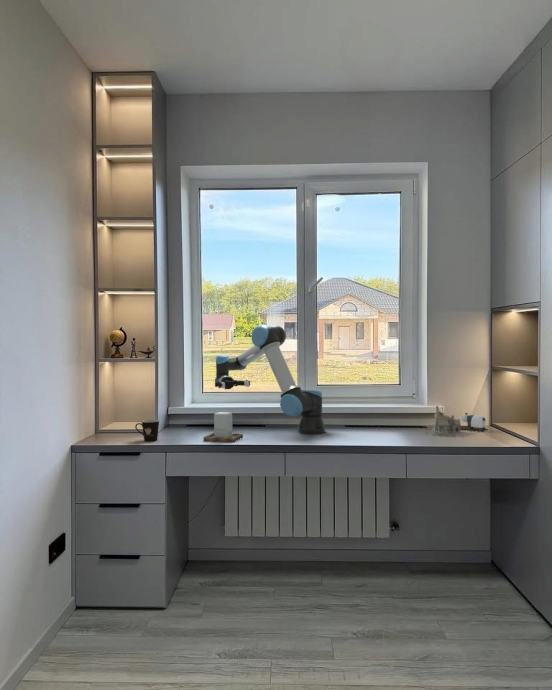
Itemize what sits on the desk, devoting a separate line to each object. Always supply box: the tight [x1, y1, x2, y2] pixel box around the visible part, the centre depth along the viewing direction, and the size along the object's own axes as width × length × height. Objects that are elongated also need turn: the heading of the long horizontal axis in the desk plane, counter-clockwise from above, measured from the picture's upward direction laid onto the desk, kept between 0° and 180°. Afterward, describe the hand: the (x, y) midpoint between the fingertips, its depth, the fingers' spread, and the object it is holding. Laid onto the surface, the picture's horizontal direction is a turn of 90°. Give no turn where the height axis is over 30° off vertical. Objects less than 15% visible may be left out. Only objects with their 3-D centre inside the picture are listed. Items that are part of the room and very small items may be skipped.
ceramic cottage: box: [430, 405, 462, 437], centre depth 284 cm, size 16×16×15 cm
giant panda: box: [458, 412, 487, 433], centre depth 294 cm, size 15×6×10 cm, turn 47°
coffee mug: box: [135, 419, 160, 443], centre depth 269 cm, size 12×9×10 cm
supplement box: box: [213, 411, 233, 438], centre depth 270 cm, size 7×7×13 cm
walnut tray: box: [203, 432, 244, 443], centre depth 270 cm, size 16×14×2 cm
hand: (236, 384), depth 288 cm, fingers open, 13 cm apart
